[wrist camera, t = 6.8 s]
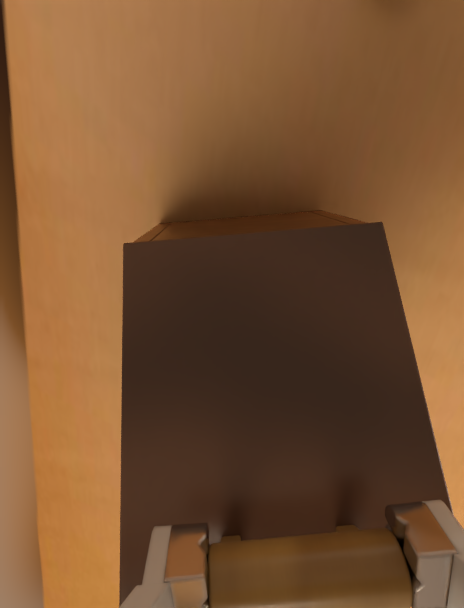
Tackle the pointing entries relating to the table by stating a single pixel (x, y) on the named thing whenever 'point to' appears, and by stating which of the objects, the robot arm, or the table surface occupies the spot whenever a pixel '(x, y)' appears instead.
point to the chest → (245, 225)
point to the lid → (274, 414)
